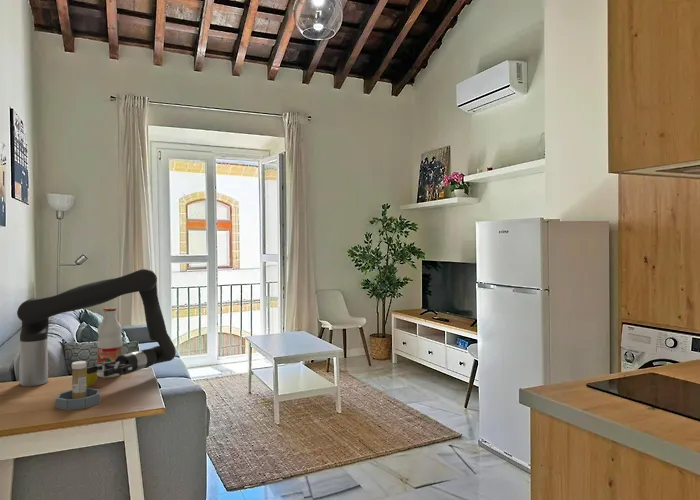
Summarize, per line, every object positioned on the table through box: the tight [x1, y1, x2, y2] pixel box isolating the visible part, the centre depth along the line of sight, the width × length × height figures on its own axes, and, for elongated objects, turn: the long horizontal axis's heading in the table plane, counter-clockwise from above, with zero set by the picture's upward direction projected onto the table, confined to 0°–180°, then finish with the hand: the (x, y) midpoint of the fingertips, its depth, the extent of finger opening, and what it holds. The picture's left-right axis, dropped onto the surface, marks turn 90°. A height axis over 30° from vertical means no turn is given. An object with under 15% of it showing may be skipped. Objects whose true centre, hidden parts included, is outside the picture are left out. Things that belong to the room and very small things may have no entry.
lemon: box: [86, 366, 98, 388], centre depth 198 cm, size 6×6×8 cm
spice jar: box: [71, 360, 88, 399], centre depth 179 cm, size 5×5×14 cm
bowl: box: [55, 387, 101, 411], centre depth 179 cm, size 13×13×3 cm
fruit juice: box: [96, 306, 123, 379], centre depth 215 cm, size 9×9×28 cm
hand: (95, 372), depth 185 cm, fingers open, 8 cm apart
